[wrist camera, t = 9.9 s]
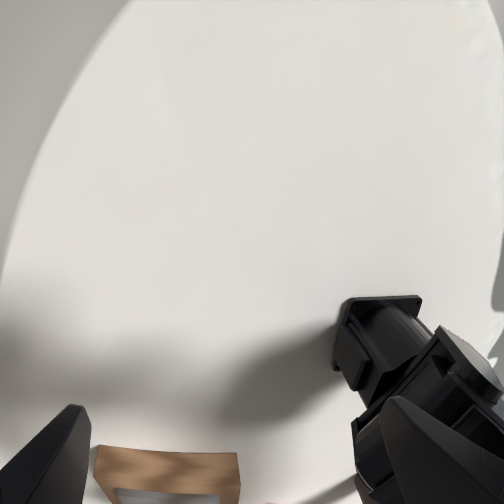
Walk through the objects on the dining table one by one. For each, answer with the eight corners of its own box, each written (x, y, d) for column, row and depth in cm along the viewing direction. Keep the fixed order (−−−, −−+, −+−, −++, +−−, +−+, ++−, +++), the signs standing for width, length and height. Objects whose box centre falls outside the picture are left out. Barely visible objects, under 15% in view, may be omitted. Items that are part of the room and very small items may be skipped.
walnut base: (236, 452, 27) (242, 493, 22) (231, 501, 32) (235, 532, 27) (99, 444, 25) (91, 483, 20) (127, 496, 30) (124, 526, 25)
